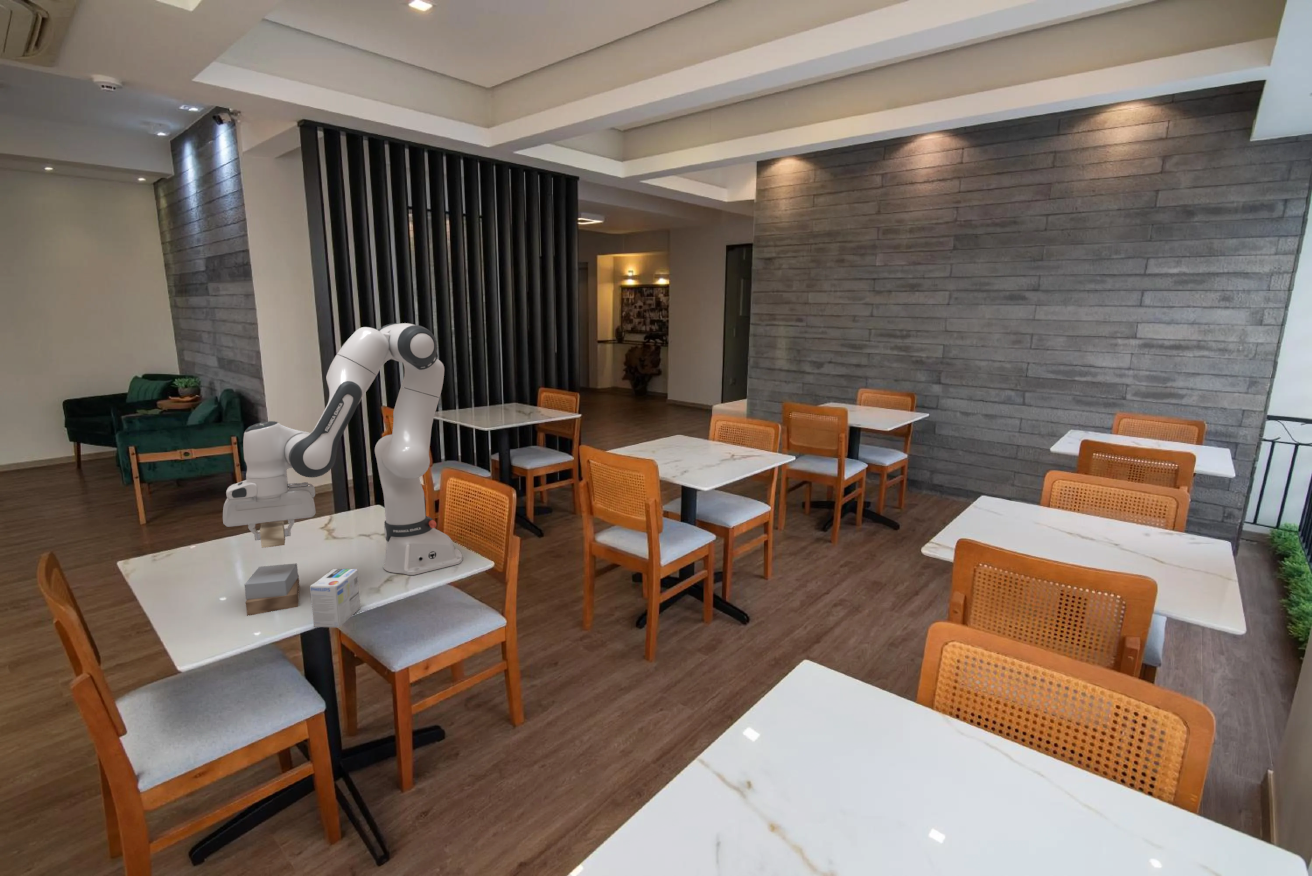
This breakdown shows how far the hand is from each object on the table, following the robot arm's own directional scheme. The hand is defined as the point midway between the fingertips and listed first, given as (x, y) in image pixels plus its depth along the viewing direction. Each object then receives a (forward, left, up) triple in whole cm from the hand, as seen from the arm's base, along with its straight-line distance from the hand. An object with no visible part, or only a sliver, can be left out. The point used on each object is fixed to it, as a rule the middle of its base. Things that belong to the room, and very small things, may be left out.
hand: (273, 537), depth 162 cm
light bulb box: (-13, +18, -17) cm, 28 cm away
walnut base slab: (+1, 0, -18) cm, 18 cm away
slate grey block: (+1, 0, -14) cm, 14 cm away
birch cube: (0, 0, -2) cm, 2 cm away
